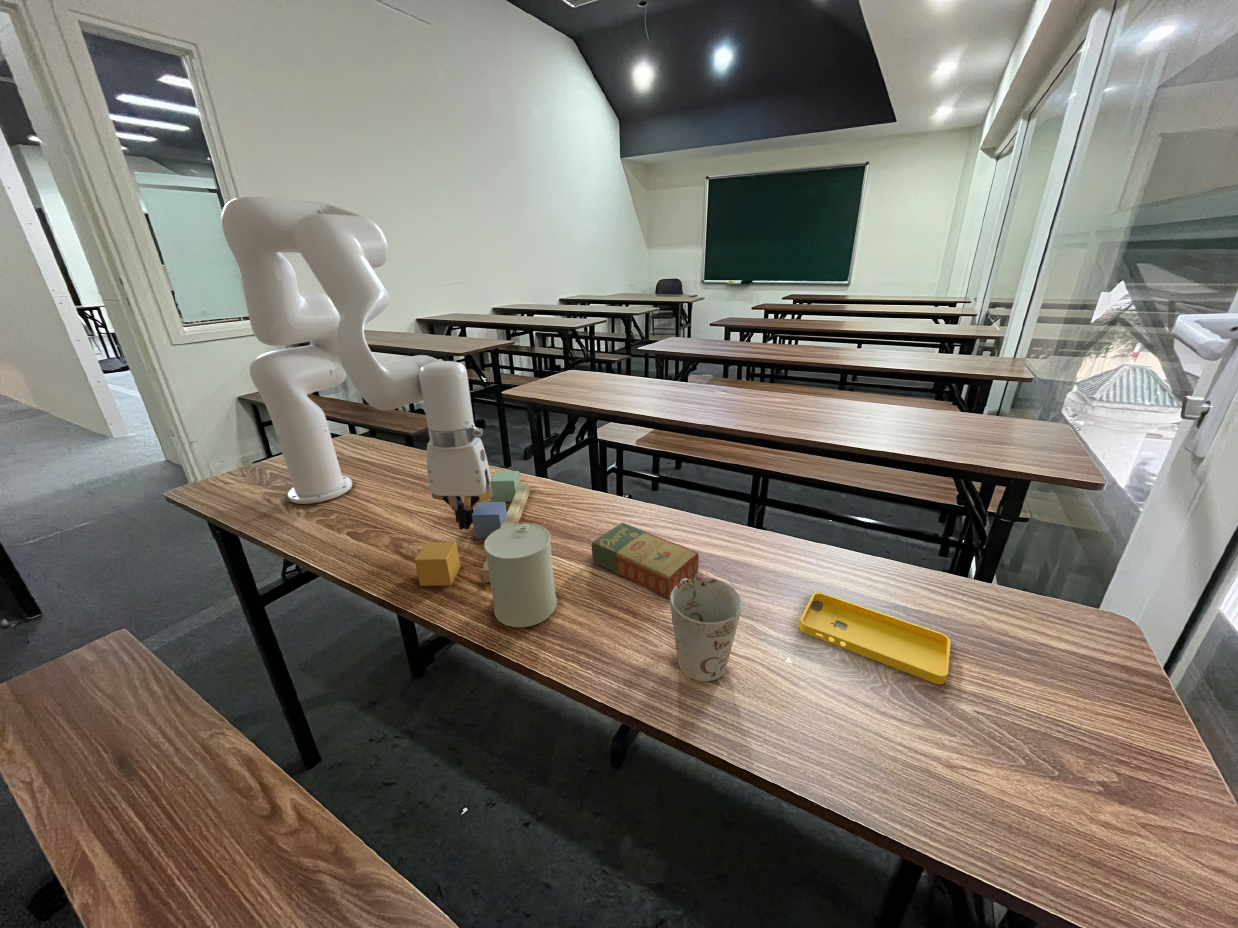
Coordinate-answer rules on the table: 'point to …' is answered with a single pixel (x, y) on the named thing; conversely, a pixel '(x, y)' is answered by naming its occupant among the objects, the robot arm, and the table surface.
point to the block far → (505, 485)
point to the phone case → (879, 637)
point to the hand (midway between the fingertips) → (466, 525)
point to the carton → (645, 558)
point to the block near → (437, 563)
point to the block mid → (488, 518)
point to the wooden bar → (511, 517)
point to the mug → (704, 625)
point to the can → (521, 574)
